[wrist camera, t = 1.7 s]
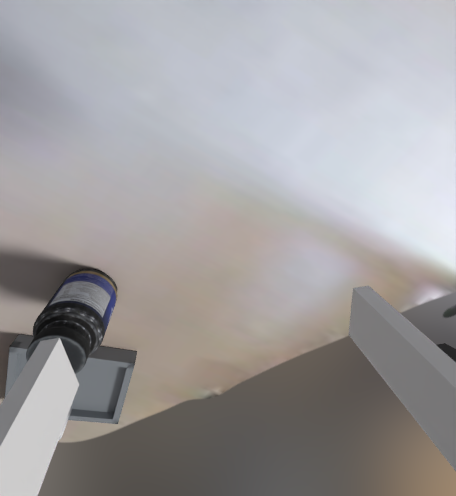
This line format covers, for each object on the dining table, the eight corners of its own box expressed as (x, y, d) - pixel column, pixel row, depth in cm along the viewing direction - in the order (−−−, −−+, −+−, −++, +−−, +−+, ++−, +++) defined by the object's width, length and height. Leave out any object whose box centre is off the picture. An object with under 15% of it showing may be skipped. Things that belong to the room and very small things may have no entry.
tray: (12, 399, 39) (-11, 437, 35) (19, 334, 36) (-6, 366, 31) (120, 409, 43) (113, 445, 38) (137, 351, 39) (131, 383, 34)
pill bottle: (97, 320, 36) (66, 396, 26) (52, 292, 34) (-1, 364, 24) (129, 287, 35) (109, 353, 25) (84, 256, 33) (43, 316, 23)
